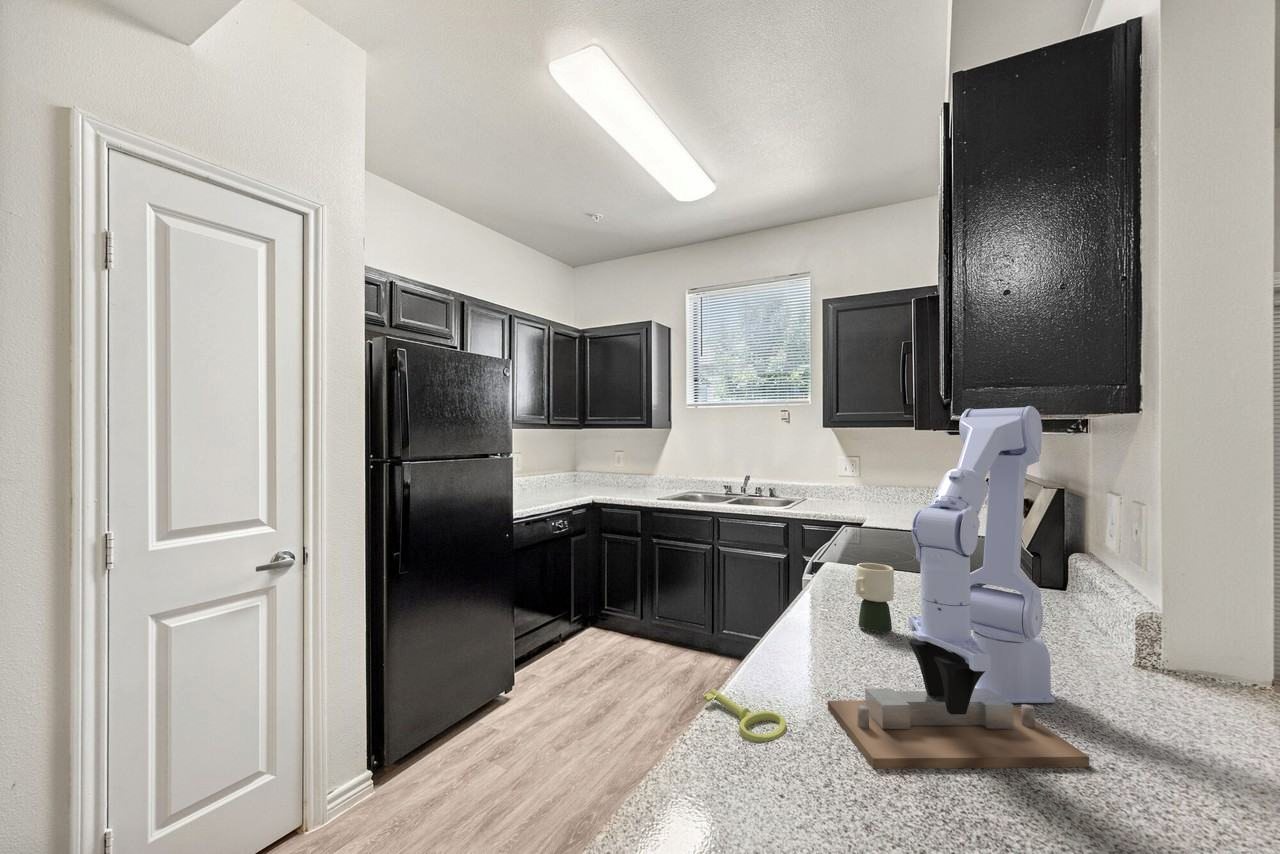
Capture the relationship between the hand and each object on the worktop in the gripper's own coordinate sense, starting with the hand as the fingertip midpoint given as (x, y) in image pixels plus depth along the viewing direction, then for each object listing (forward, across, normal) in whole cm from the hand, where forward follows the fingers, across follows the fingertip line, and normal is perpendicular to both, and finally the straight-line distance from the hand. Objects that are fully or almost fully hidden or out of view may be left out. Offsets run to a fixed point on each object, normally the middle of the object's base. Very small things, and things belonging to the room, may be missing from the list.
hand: (946, 704), depth 70 cm
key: (+5, -5, -26) cm, 26 cm away
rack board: (+4, 0, 0) cm, 4 cm away
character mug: (+4, -39, +9) cm, 41 cm away
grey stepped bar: (+3, -2, 0) cm, 3 cm away
